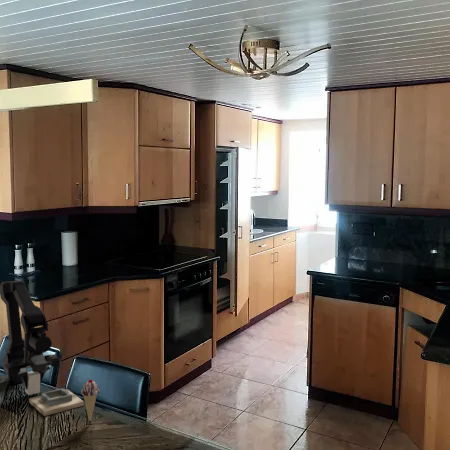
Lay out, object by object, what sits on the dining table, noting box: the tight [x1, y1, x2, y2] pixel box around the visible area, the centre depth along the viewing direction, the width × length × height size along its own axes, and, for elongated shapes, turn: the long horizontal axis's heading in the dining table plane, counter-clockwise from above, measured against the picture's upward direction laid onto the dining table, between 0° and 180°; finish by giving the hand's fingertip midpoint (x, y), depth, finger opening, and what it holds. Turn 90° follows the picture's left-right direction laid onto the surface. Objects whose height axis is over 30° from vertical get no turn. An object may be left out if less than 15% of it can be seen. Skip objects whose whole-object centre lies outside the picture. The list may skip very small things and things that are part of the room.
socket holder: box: [28, 387, 85, 417], centre depth 177 cm, size 14×14×4 cm
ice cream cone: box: [80, 379, 100, 425], centre depth 162 cm, size 6×6×15 cm
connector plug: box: [24, 370, 41, 396], centre depth 183 cm, size 4×4×7 cm
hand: (32, 387), depth 183 cm, fingers closed on connector plug, 4 cm apart
